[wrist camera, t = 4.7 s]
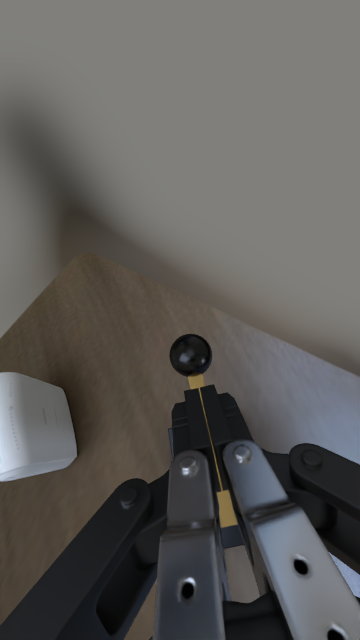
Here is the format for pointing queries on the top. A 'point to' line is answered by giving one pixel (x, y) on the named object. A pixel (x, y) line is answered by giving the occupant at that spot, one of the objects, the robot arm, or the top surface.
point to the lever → (192, 361)
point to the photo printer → (33, 427)
